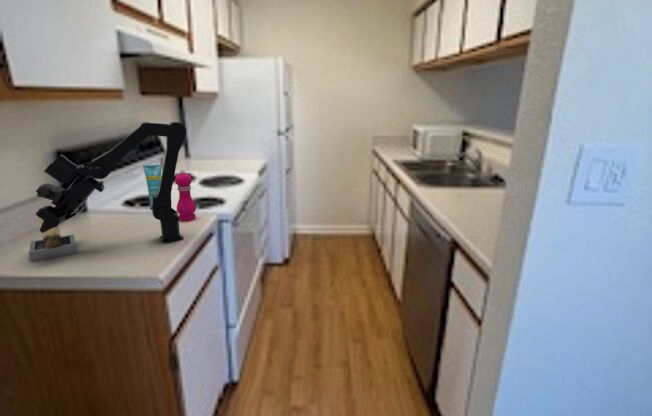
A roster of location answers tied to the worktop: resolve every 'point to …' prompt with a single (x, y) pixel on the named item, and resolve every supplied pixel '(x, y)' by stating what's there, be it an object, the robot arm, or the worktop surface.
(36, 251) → the collar
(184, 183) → the pepper mill
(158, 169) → the tube
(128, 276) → the worktop surface
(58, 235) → the beige tall cylinder
